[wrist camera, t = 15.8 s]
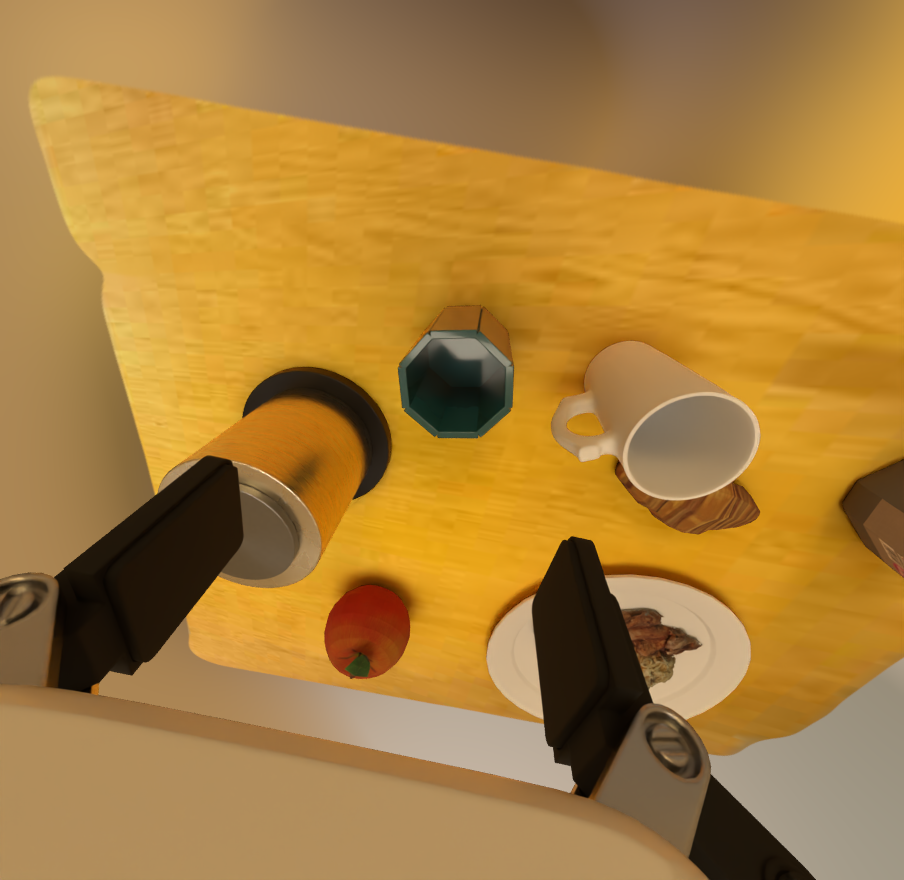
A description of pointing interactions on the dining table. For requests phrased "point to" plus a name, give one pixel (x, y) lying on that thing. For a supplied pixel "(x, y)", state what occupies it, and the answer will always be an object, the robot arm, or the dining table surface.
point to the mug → (660, 423)
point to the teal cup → (459, 374)
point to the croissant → (698, 507)
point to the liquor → (880, 514)
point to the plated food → (641, 646)
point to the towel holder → (297, 469)
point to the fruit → (367, 632)
